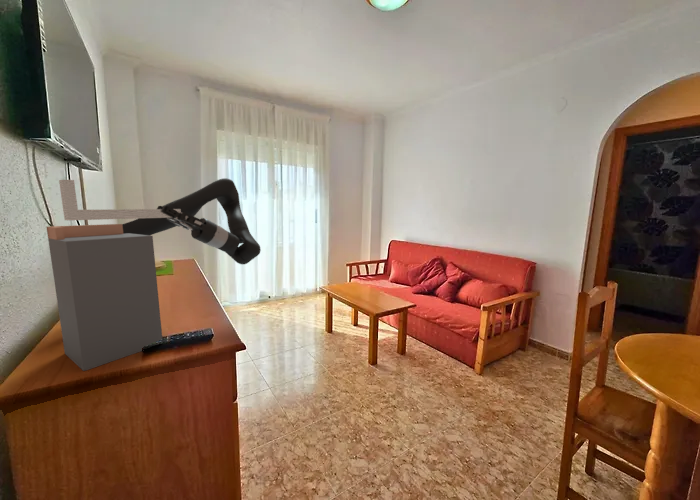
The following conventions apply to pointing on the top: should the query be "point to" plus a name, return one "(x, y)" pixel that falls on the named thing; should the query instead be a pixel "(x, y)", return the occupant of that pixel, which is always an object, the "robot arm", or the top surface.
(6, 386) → the top surface
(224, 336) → the top surface
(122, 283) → the charcoal stand
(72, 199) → the aluminium bracket
